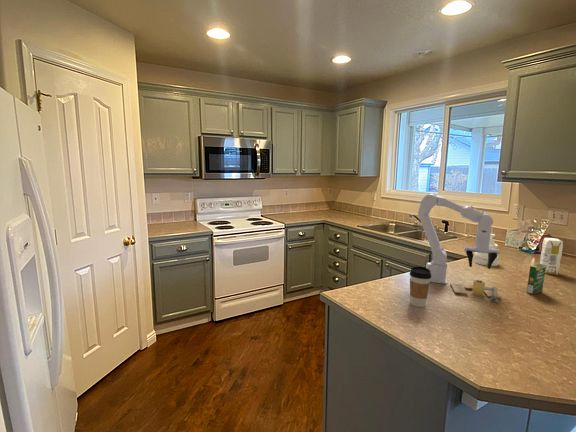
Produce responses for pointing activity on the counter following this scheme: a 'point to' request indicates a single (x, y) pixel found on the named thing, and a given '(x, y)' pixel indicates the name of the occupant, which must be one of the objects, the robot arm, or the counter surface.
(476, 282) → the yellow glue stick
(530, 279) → the coffee box
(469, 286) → the brown u-shaped board
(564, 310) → the counter surface
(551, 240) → the juice carton
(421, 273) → the coffee cup
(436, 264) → the robot arm
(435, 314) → the counter surface
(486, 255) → the honey pot
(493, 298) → the hook arm
